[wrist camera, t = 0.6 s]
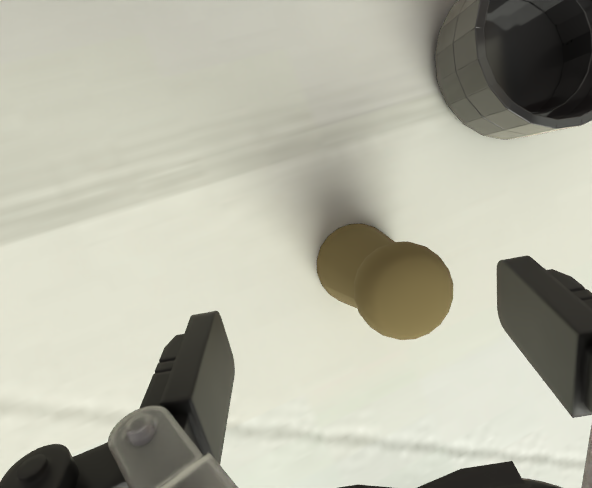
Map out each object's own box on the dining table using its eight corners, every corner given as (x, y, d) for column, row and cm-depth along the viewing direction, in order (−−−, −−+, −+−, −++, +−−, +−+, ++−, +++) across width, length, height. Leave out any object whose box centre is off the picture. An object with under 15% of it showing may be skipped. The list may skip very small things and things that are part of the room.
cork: (389, 216, 33) (464, 225, 22) (401, 294, 33) (480, 341, 23) (309, 232, 32) (346, 250, 21) (324, 311, 33) (367, 368, 22)
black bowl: (423, -10, 31) (466, -59, 25) (567, -25, 32) (641, -74, 27) (440, 149, 33) (485, 139, 27) (578, 129, 34) (650, 115, 28)
